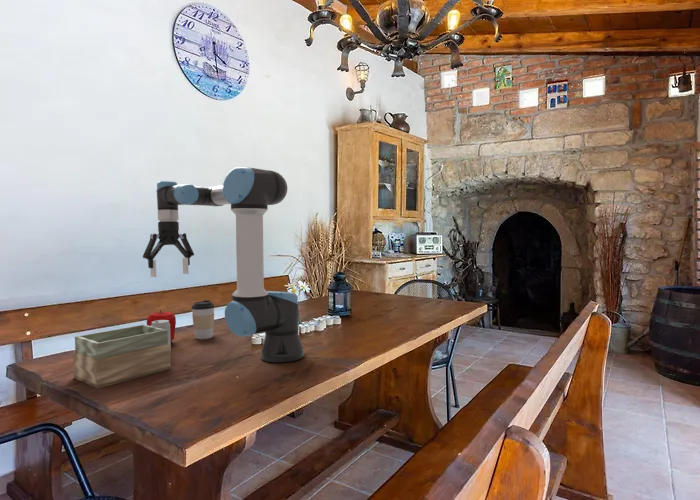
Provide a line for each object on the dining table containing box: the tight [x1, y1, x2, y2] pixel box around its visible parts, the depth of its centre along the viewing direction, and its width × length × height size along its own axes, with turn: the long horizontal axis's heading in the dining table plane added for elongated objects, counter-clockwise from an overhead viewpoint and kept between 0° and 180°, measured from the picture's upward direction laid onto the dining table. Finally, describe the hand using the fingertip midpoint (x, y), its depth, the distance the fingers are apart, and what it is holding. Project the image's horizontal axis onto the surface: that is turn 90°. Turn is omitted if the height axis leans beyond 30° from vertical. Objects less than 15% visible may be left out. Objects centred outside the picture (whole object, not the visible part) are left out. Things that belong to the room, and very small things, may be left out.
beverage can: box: [151, 320, 172, 352], centre depth 159 cm, size 6×6×12 cm
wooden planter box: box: [72, 324, 172, 390], centre depth 138 cm, size 16×22×12 cm
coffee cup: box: [191, 299, 215, 340], centre depth 183 cm, size 9×9×15 cm
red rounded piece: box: [146, 309, 177, 342], centre depth 173 cm, size 10×10×14 cm
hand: (170, 275), depth 176 cm, fingers open, 13 cm apart
